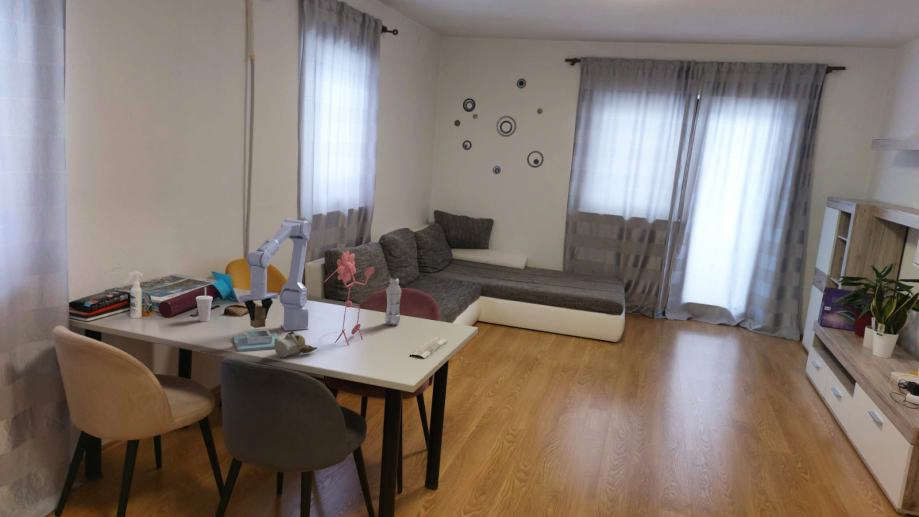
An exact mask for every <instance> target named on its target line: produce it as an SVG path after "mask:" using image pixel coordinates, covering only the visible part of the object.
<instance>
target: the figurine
mask: <svg viewBox="0 0 919 517" xmlns="http://www.w3.org/2000/svg"><path fill="white" fill-rule="evenodd" d="M355 256H356V255H355V253H353V252H352V253H350V251H349V250H347V251H346V252H345V251H343V252H342V254H341V259H339V258H338V259H337V261H336V264H337V269H335V270H334V271H333V272H332V274H330V275H329V276H328V277H327V278H326V280H324V282H323V283H326V282H327V281H328V280H329V279H330V278H331V277H332V276H333V275H334V274H335V273H338V275H337V280H338V281H341V280H342V282H343V284H344V286H345V288H348V292H347V293H348V294H347V300H346V301H345V303H344V306H345V309H344V314H343V322H342V330H341V332H340V333H339V335H338V337H337V338H336V340H335V342H334V343H335V344H336V343H337V342H338V340H339V339H341V337H342V335H343V336H344V339H345V342H346V344H347V346H349V345H350V343H349V340H348V337H347V335H346V333H345V331H346V328H344V327H345V319H346V313H347V308H351V307H355V308H356V309H358V313H357V320H356V325H355V326H354V327H353V328H352V329H351V335H353V336H354V335H355V334H356V333H357V332H358V333H359V336H360V339H361V340H364V338H363V335H362V332H361V329H360V328H361V323H359V319H360V311H361V308H360V306H356V305H354V304H353V302H352V301H351V300H349V299H350V293H351V292H350V291H351V288H352V287H353V286H354V285H356V284H358V285H363V286H366V284H367V282H368V280H369V278H370V276H372V275H373V274H374V273H375V271H376V270H375V268H374V266H371V267H369V268H367V269H366V270H365V272H364V276H365V278H366V280H365V283H363V282H358V281H356V279H355V277H354V275H356V274H357V268H356V266H355V265H356V262H355ZM351 279H352V280H353V282H351V283H349V284H348V285H347V283H348V282H350V281H351ZM336 333H337V332H334V334H336ZM330 334H331V335H332V334H333V332H331V333H330V332H329V333H328V334H323V336H321V338H319V340H321V339H322V338H323V337H325V336H328V335H330ZM371 336H374V335H373V334H371Z"/></svg>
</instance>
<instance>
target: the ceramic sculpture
mask: <svg viewBox="0 0 919 517" xmlns="http://www.w3.org/2000/svg"><path fill="white" fill-rule="evenodd" d="M274 348H275V349H274V351H275V353H276V355H277V356H278V358H286V357H287V356H288V355H291V356H292V355H299V354H309V353H312V352H314V351H315V350H317V349H318V347H316V346H312V345H308V344H306V340H305V337H304V336H303V335H302V334H298V333H295V332H294V331H290V332H288V333H286V335H285V336H284V338H280V339H277V338H275V341H274Z"/></svg>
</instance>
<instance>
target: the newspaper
mask: <svg viewBox="0 0 919 517" xmlns="http://www.w3.org/2000/svg"><path fill="white" fill-rule="evenodd" d="M444 342H445V343H446V342H447V340H446V339H445V338H443V337H439V336H437V337H436V336H435V337H432V338H431V339H428V341H427V342H425V343H424V344H422V345H421V346H420V347H419V348H417V349H416V350H415V351H413V352H412V353H410V354H409V356H410V355H411V356H410V357H412V356H420V357H422V358H423V359H424V360H425V359H427V358H428V357H429V356H430V355H431V354H432V353H434V352H435V351H436V350H438V349H439V348H441V346H443V345H444V344H445V343H444ZM443 343H444V344H443ZM438 347H439V348H438ZM427 356H428V357H427Z"/></svg>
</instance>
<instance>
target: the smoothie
mask: <svg viewBox="0 0 919 517" xmlns="http://www.w3.org/2000/svg"><path fill="white" fill-rule="evenodd" d="M213 298H214V297H213V296H211V295H207V287H206V286H204V295H198V296H196V297H195V301H196V305H197V310H198V311H197V312H198V319H199V322H201V323H202V322H203V323H206V322H209V321H210V317H211V310H212V303H213V302H212V301H213Z"/></svg>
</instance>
